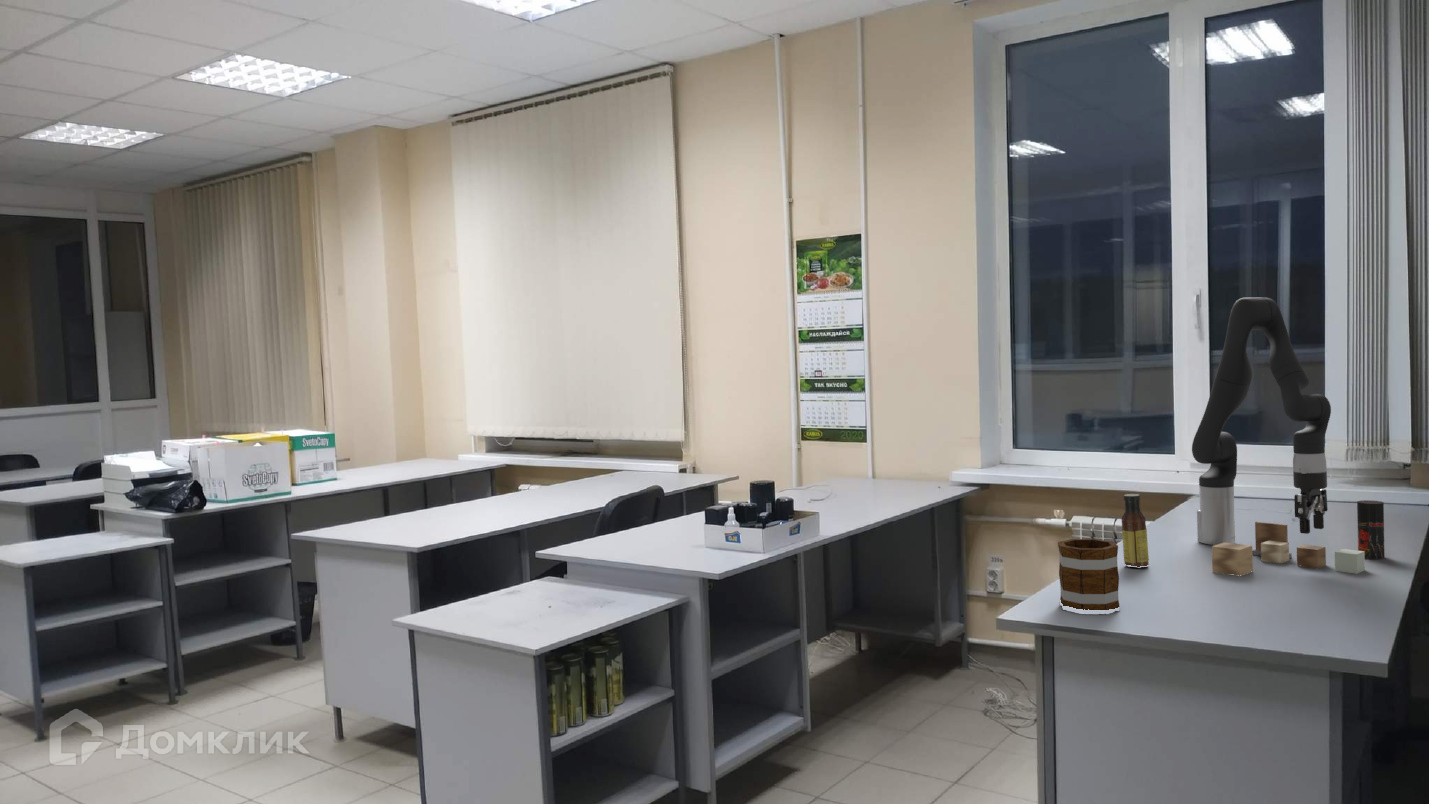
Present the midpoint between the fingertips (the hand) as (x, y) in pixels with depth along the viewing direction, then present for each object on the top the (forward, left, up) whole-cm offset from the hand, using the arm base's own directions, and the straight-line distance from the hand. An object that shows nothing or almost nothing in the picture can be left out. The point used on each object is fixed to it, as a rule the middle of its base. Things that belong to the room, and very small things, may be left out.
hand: (1311, 531), depth 252 cm
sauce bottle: (-32, -30, -9) cm, 45 cm away
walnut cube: (0, 0, -9) cm, 9 cm away
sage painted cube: (+9, 0, -9) cm, 13 cm away
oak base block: (-11, -20, -9) cm, 25 cm away
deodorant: (+7, +20, -9) cm, 23 cm away
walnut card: (-12, +5, -9) cm, 16 cm away
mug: (-19, -72, -10) cm, 75 cm away
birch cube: (-9, 0, -9) cm, 13 cm away
